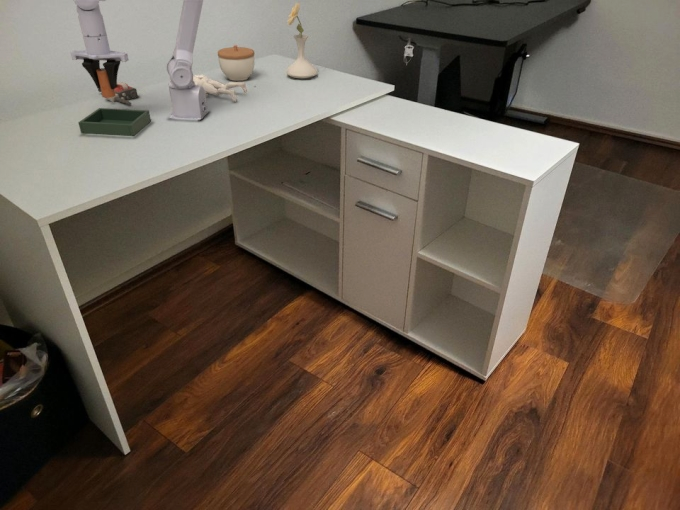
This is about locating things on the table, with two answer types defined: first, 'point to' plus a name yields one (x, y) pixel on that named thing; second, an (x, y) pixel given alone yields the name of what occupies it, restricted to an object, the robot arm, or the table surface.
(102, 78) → the tube
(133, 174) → the table surface
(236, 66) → the dishware bowl
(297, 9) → the flower in vase
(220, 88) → the superhero figure
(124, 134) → the basket
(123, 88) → the walkie-talkie
